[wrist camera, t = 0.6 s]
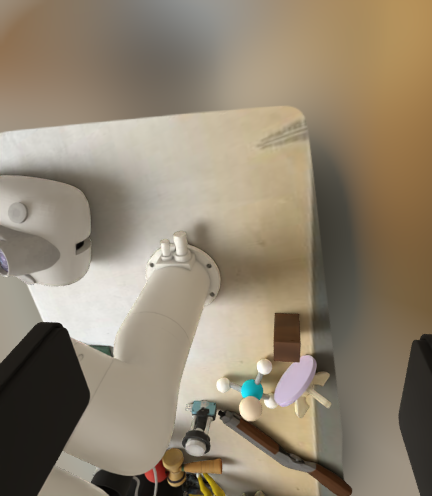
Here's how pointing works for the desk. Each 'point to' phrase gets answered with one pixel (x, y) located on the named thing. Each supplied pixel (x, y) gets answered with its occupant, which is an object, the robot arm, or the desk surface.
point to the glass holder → (117, 482)
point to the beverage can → (194, 486)
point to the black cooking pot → (153, 488)
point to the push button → (199, 427)
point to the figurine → (215, 488)
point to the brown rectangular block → (287, 337)
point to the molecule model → (251, 392)
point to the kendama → (181, 468)
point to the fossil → (258, 495)
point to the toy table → (300, 385)
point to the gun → (284, 454)
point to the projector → (43, 231)
